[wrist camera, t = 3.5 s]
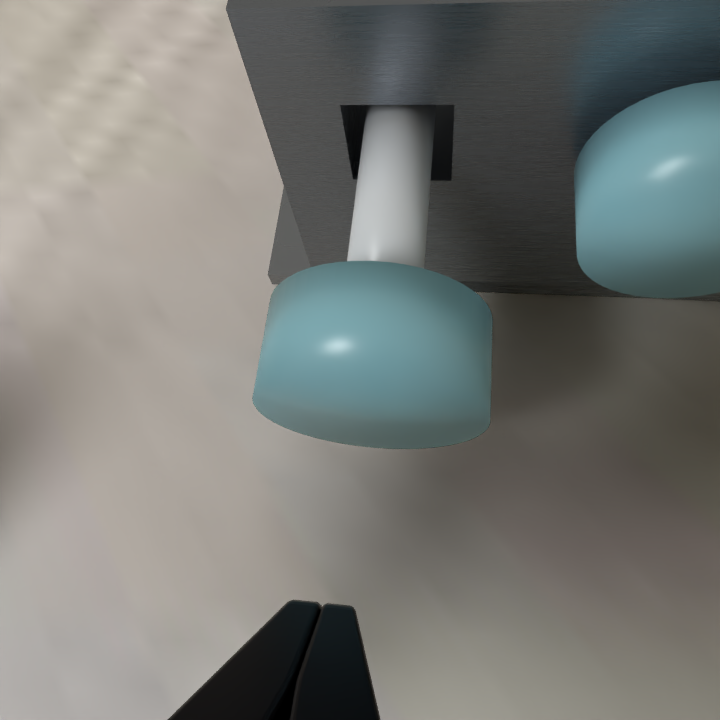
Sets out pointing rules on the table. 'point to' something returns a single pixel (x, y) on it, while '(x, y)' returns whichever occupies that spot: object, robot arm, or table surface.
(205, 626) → the table surface
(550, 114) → the mount
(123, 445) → the table surface
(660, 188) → the seated knob
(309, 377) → the popped knob
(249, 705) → the robot arm
